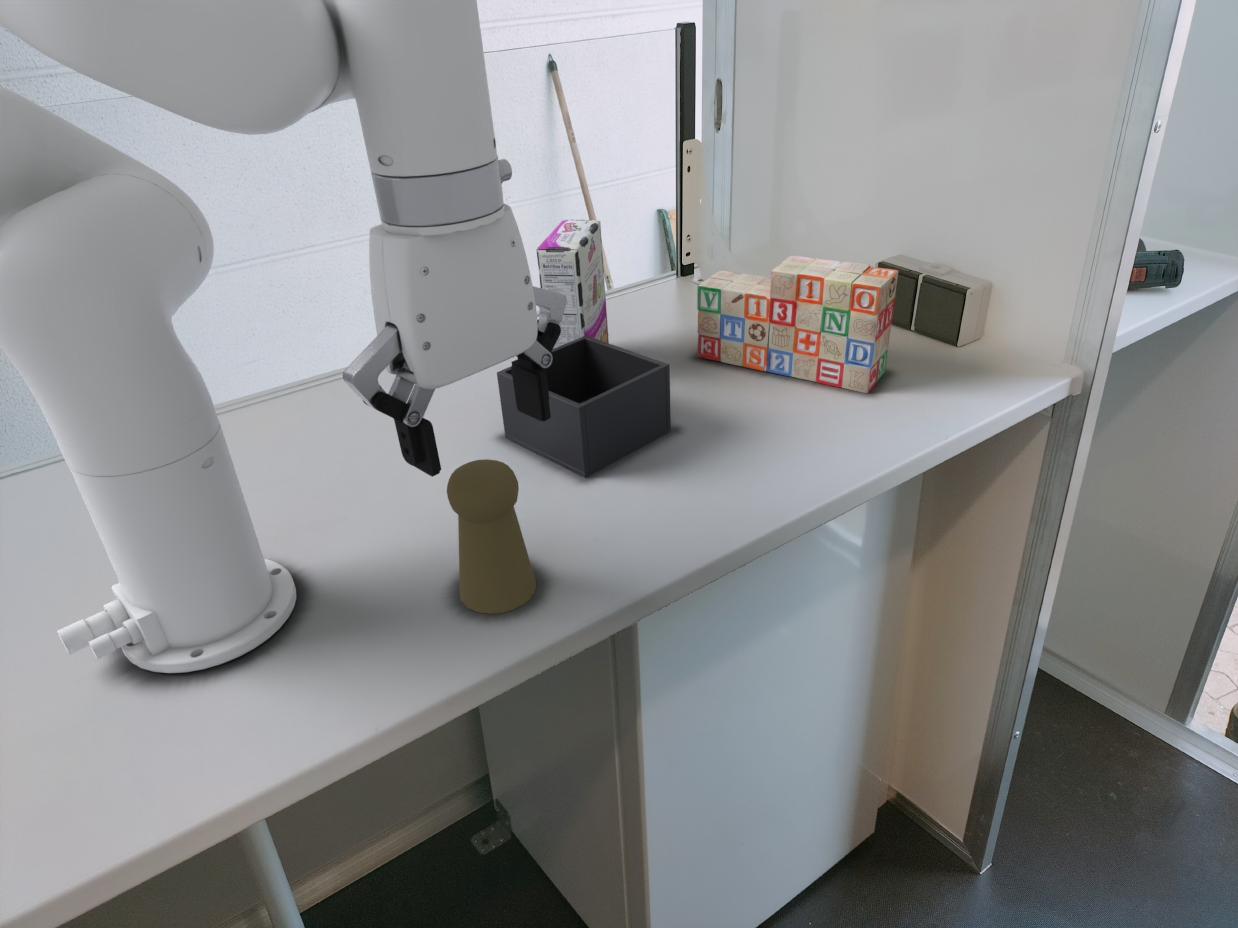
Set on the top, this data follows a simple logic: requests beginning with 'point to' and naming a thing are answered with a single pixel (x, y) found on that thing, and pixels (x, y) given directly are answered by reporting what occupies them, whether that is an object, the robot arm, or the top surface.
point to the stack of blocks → (801, 320)
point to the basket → (592, 406)
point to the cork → (490, 538)
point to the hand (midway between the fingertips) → (481, 440)
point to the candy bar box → (576, 278)
